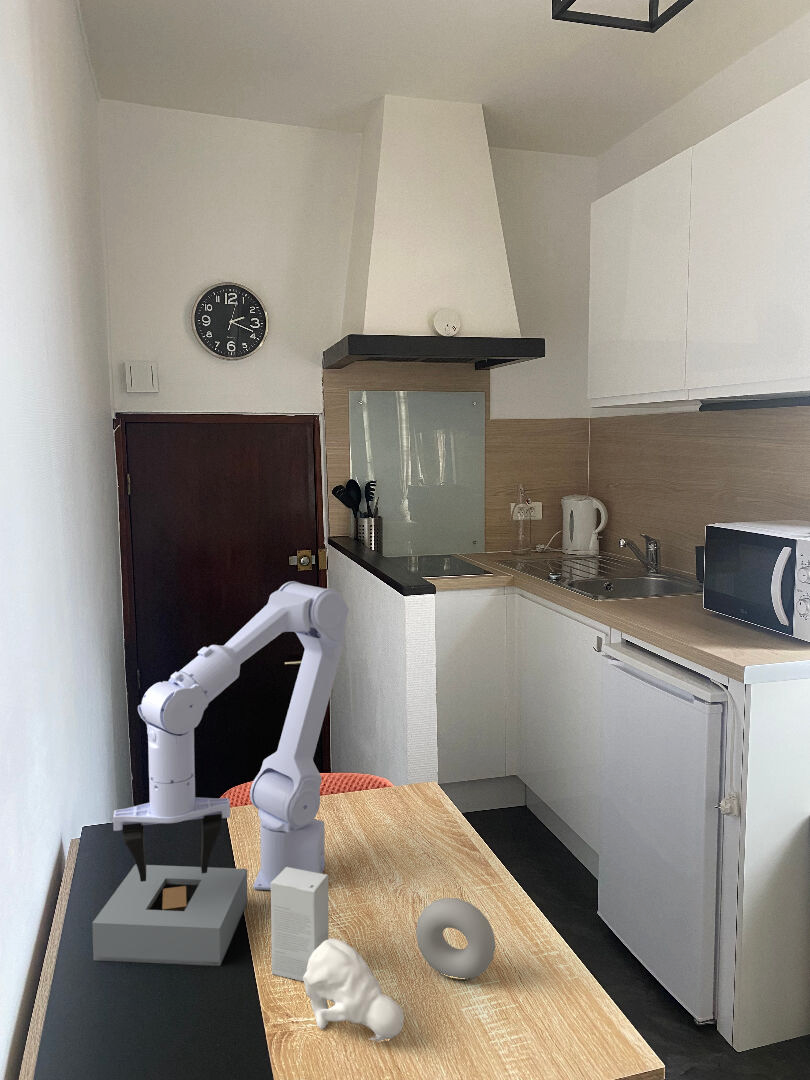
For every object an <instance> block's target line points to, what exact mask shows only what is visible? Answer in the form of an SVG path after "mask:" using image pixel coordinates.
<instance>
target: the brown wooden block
mask: <svg viewBox="0 0 810 1080" xmlns="http://www.w3.org/2000/svg"><path fill="white" fill-rule="evenodd" d="M185 909H186V886H181V887H173V888H165V889H163V906H162V910H166V911H184V910H185Z"/></svg>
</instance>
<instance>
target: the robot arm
mask: <svg viewBox="0 0 810 1080" xmlns="http://www.w3.org/2000/svg"><path fill="white" fill-rule="evenodd" d="M349 611H350V609H349V606H348V605H347V603H346V601H345V599H344V598H343V595H342V594H341V593H340V591H338V590H336V589H335V588H334V589H333V588H324V587H319V586H314V585H309V584H304V583H301V582H299V581H295V580H293V581H288V582H285V583H284V584H282V585H281V586H280V587H279V589H278V590H275V591H274V592H272V593H271V594H270V595H269V599H268V601H267V604H266V605H264V606H263V608H261V610H259V612H257V613H256V614H255V615H254V616H253V617H252V618H251V619H250V620H249V621H248V622H247V623H246V624H245V625H244V626H243V627H241V629H239V631H237V632H236V633H235V634H234V635H233V636H232V637H231V638H230V639H229V640H228V641H227V642H226V643H225V644H224V645H217V644H211V645H209V646H208V647H207V646H203V647H202V648H200V649H199V650H198V651H197V654H198V655H197V656H196V657H195V658H193V659H192V660H191V661H190V662H189V663H187V664H186V665H185V666H183V668H182V669H180V670H179V671H175V672H174V673H172V674H171V675H170V677H169V679H168V681H167V680H166V681H165V680H163V681H162V682H161V681H159V682H156V683H154V684H153V685H152V686H150V687H149V688H148V689H147V691H145V693H144V695H143V697H142V699H141V704H139V705H138V706H137V712H138V714H139V716H140V719H142V720H143V722H145V724H146V728H147V729H146V731H147V733H146V734H147V739H148V740H147V743H148V746H147V747H148V749H147V750H148V752H147V753H148V779H149V780H148V782H149V783H148V784H149V785H148V786H149V789H148V791H149V802H147V803H146V802H145V803H143V804H142V803H141V804H138V805H134V806H130V807H127V808H121V809H115V810H114V811H113V816H112V817H113V832H118V831H122V840H123V842H124V845H125V846H126V847H127V849H128V851H130V854H131V855H132V858H133V860H134V862H135V864H136V865H137V868H138V871H139V875H140V881H141V882H142V881H146V865H147V860H146V852H145V826H147V825H148V826H149V825H157V824H158V825H159V824H174V823H181V822H183V821H193V820H199V819H201V850H200V867H201V871H202V873H207V868H208V867H209V861H210V858H211V854H212V851H213V848H214V846H215V843H216V841H217V839H218V837H219V836H220V834H221V831H222V828H223V822H222V821H223V820H222V819H227V818H228V819H230V818H231V802H230V798H229V797H222V798H215V797H213V798H212V797H210V798H209V797H196V777H195V776H196V773H195V772H196V770H195V728H197V727H198V726H199V724H200V722H201V720H202V718H203V716H204V711H205V710H206V709H207V708H208V707H209V704H210V702H212V701H213V700H214V699H215V698H216V697H218V696H219V695H220V694H221V693H222V692H223V691H225V689H226V688H228V687H229V686H230V685H231V684H232V683H234V682H235V681H236V680H237V679H238V678H239V677H240V670H241V664H243V663H244V662H245V661H246V660H248V659H249V658H251V657H252V656H253V655H255V654H256V653H257V652H258V651H260V650H261V649H262V648H264V647H265V646H267V645H268V644H269V643H270V642H271V641H274V639H276V638H277V637H278V636H279V635H281V634H282V633H286V632H287V633H288V632H289V633H290V632H294V633H295V634H296V636H297V637H298V639H299V641H300V643H301V644H302V646H303V648H304V651H303V655H302V659H301V663H300V666H299V670H298V673H297V678H296V680H295V683H294V688H293V691H292V695H291V697H290V698H291V699H290V703H289V707H288V709H287V714H286V716H285V720H284V724H283V727H282V732H281V736H280V739H279V742H278V746H277V750H276V751H275V752H273V753H272V754H271V755H269V756H267V757H266V758H264V759H263V761H262V765H261V767H260V771H259V772H258V773H257V775H256V776H255V778H254V779H253V781H252V783H251V786H250V790H249V799H250V801H251V804H252V806H254V808H256V809H258V810H257V811H258V813H257V815H258V817H259V819H260V823H259V824H260V825H259V826H260V827H259V828H260V830H259V831H260V834H259V835H260V868H259V871H258V873H257V876H256V878H255V881H254V882H253V885H252V888H253V890H265V891H271V882H272V881H273V880H274V879H275V878H276V877H277V876H278V875H279V874H280V873H281V872H282V871H283V870H284V869H285V868H286V867H290V868H295V869H300V870H305V871H310V872H315V873H321V874H324V871H325V866H326V859H325V858H326V856H325V854H326V853H325V851H326V850H325V848H326V846H325V843H326V841H325V839H326V837H325V833H326V832H325V831H326V829H325V821H324V820H320V819H316V816H317V814H318V812H319V809H320V806H321V794H320V789H321V784H322V780H323V779H322V776H321V774H320V772H319V770H318V768H317V766H316V764H315V762H314V757H315V753H316V749H317V744H318V742H319V737H320V735H321V730H322V727H323V722H324V718H325V717H326V712H327V707H328V705H329V701H330V697H331V693H332V689H333V686H334V682H335V678H336V675H337V672H338V671H337V670H338V668H339V663H340V660H341V656H342V653H343V649H344V648H343V647H344V630H345V625H346V622H347V619H348V614H349Z"/></svg>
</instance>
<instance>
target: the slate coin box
mask: <svg viewBox="0 0 810 1080" xmlns="http://www.w3.org/2000/svg"><path fill="white" fill-rule="evenodd" d="M181 886H186V909H185V910H184V911H166V910H162V906H163V889H165V888H173V887H181ZM247 905H248V868H238V867H237V868H232V867H213V866H212V867H210V866H208V868H207V873H202V871H201V866H186V865H185V866H184V865H183V866H181V865H179V866H178V865H157V864H146V881H142V882H141V881H140V875H139V871H138V868H137V865H136V863H135V864H134V865H133V867H132V868H131V870H130V871H129V872H128V873H127V875H126V877H125V878H124V879H123V881H122V882H121V883H120V884H119V886H118V887H117V888H116V890H115V891H114V893H112V896H111V897H110V898H109V899H108V901H107V902H106V904H105V905H104V906H103V908H102V909H101V910H100V911H99V913H98V915H97V916H96V917H95V919H94V920H93V921H92V925H91V926H92V927H91V929H92V951H93V952H92V954H93V961H101V962H103V961H104V962H121V963H122V962H123V963H124V962H125V963H126V962H127V963H145V964H146V963H147V964H164V965H165V964H167V965H186V966H187V965H193V966H211V967H212V966H214V967H216V966H217V967H221V965H222V962H223V961H224V958H225V956H226V953H227V950H228V948H229V946H230V944H231V941H232V939H233V937H234V934H235V932H236V930H237V928H238V926H239V924H240V923H239V922H240V920H241V919H242V916H243V913H244V912H245V908H246V907H247Z"/></svg>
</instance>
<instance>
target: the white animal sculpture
mask: <svg viewBox="0 0 810 1080" xmlns="http://www.w3.org/2000/svg"><path fill="white" fill-rule="evenodd" d="M303 981H304V982H303ZM303 981H302V982H303V984H304V989H305V993H306V996H307V997H308V998H309V999H310V1004H311V1009H312V1011H313V1014H314V1017H315V1020H316V1026H317V1027H319V1028H320V1030H321V1029H322V1030H324V1029H326V1027H327V1026H326V1025H328V1023H329V1022H344V1021H345V1022H346V1021H349V1022H350V1023H352V1024H361V1025H362V1026H364V1027H367V1028H369V1029H370V1030H371V1031H373V1032H374V1035H375V1036H374V1037H370V1038H368V1040H369V1041H373V1042H377V1041H381V1040H385V1039H391V1038H392V1039H393V1038H394V1037H396V1036H398V1035H399V1034H400V1033H401V1031H402V1029H403V1026H404V1019H405V1018H404V1017H405V1016H404V1015H405V1014H404V1012H403V1011H404V1010H403V1009H402V1007H401V1005H400V1004H398V1002H397V1001H395V1000H394V999H393V998H391V996H388V995H387V994H383V991H382V988H381V984H380V982H379V980H378V979H377V978H376V976H374V974H373V973H372V970H371V968H370V966H369V965H368V964H367V962H366V961H365V960H364V958H363V957H362V956H361V954H359V952H357V950H356V949H355V947H353V946H351V945H350V944H348V943H347V942H345V940H341V939H337V938H333V937H331V938H329V939H328V940H325V941H324V942H323V943H322V944H321V945H320V946H318V947H317V948H316V949H315V950H314V952H313V953H312V955H311V956H310V958H309V961H308V966H307V972H306V973H305V975H304V976H303ZM328 1000H329V1001H330V1002H331V1003H333V1004H334V1005H332V1006H331V1007H329V1006H328ZM319 1028H318V1029H319ZM323 1028H324V1029H323ZM392 1039H391V1040H392ZM381 1042H382V1041H381Z"/></svg>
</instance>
